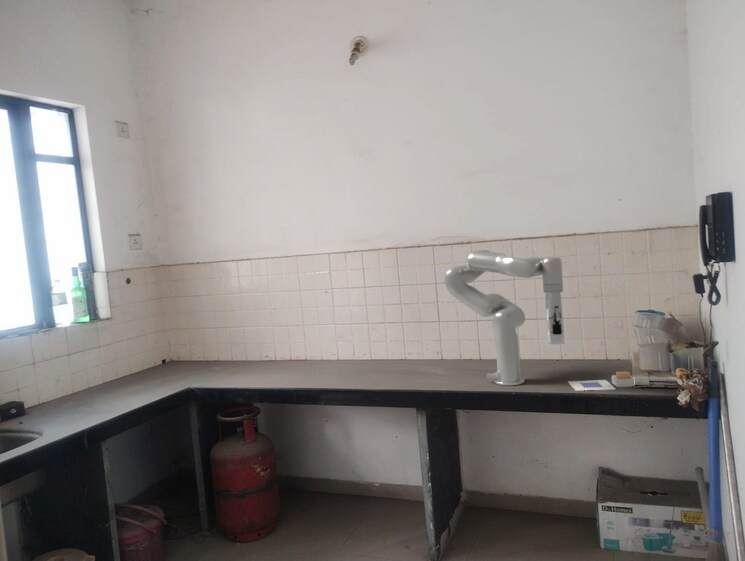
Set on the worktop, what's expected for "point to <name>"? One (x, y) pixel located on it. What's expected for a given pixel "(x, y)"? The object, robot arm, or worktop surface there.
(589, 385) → the white square panel
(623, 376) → the button
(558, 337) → the syrup box
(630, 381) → the button housing
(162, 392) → the worktop surface
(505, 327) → the robot arm
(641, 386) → the worktop surface
